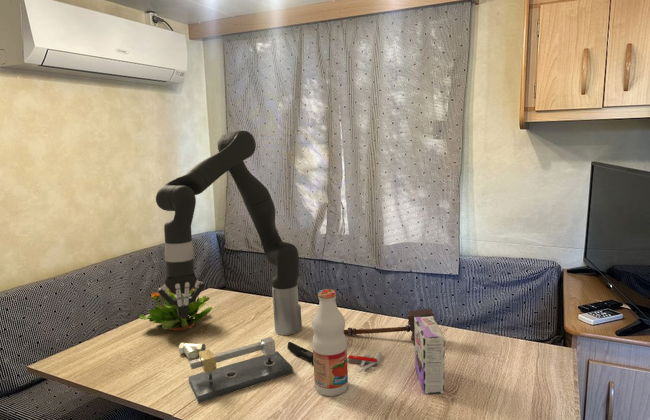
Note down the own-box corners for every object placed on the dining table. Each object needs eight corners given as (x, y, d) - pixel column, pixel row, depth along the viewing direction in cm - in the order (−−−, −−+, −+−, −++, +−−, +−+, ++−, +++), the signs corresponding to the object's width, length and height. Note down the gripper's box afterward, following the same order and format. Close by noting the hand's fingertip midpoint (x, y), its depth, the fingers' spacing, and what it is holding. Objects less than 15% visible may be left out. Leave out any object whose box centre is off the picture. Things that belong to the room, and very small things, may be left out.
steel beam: (269, 354, 138) (267, 333, 137) (276, 362, 132) (274, 340, 131) (191, 376, 126) (189, 354, 125) (195, 386, 121) (193, 362, 120)
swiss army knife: (335, 372, 130) (334, 366, 130) (348, 350, 143) (348, 344, 143) (372, 378, 126) (372, 371, 126) (382, 355, 139) (382, 349, 139)
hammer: (438, 343, 142) (431, 314, 141) (343, 353, 152) (337, 326, 151) (439, 334, 148) (433, 307, 147) (348, 344, 158) (342, 318, 158)
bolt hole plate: (277, 356, 141) (277, 350, 141) (292, 373, 130) (292, 366, 130) (189, 382, 128) (188, 376, 128) (198, 403, 117) (197, 395, 117)
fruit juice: (320, 376, 128) (316, 285, 124) (351, 380, 125) (348, 287, 121) (310, 394, 119) (304, 296, 115) (343, 399, 116) (339, 299, 112)
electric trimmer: (294, 348, 148) (293, 339, 147) (323, 363, 136) (323, 354, 135) (285, 351, 145) (284, 342, 145) (314, 368, 133) (313, 358, 133)
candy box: (414, 368, 130) (413, 315, 128) (434, 367, 130) (433, 315, 127) (423, 394, 117) (422, 336, 114) (445, 394, 116) (445, 336, 114)
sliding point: (211, 368, 130) (209, 346, 129) (217, 379, 124) (215, 356, 123) (200, 371, 129) (198, 349, 128) (206, 383, 122) (204, 360, 121)
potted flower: (191, 309, 186) (187, 269, 184) (229, 320, 173) (225, 277, 170) (137, 331, 166) (132, 287, 164) (175, 345, 153) (170, 298, 150)
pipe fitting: (196, 363, 141) (206, 351, 147) (195, 352, 140) (204, 341, 146) (174, 361, 142) (184, 350, 149) (172, 351, 142) (183, 340, 148)
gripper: (201, 252, 126) (204, 309, 129) (152, 257, 120) (156, 317, 123) (206, 257, 120) (210, 317, 122) (155, 263, 114) (160, 327, 116)
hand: (183, 317), depth 122 cm, fingers closed
